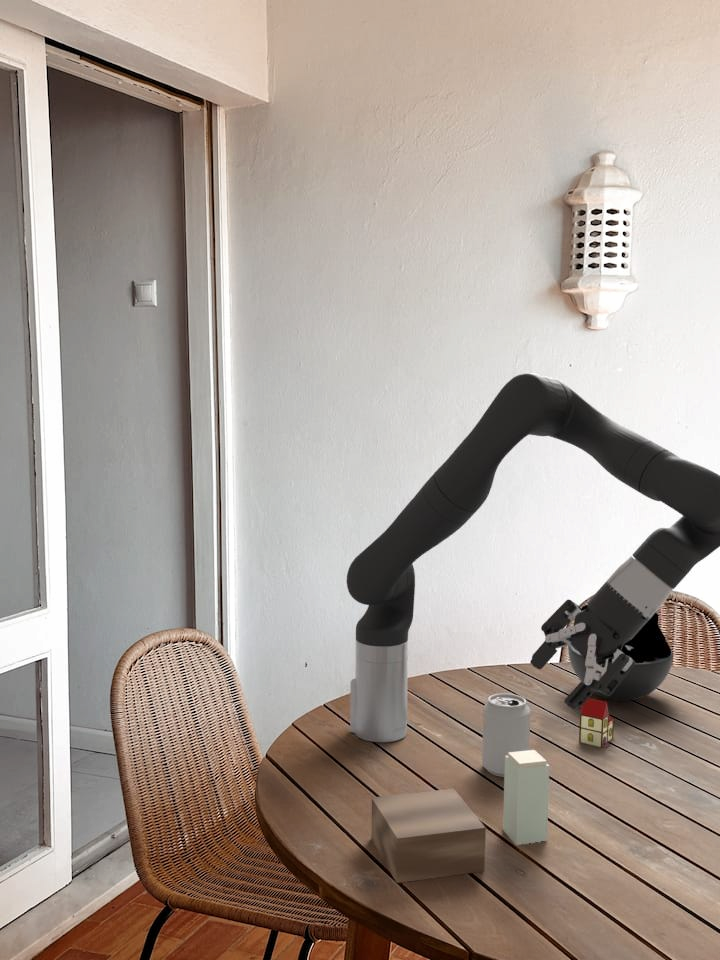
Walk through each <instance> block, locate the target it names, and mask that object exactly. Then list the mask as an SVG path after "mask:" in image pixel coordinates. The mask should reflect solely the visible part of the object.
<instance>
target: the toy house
mask: <svg viewBox="0 0 720 960" xmlns="http://www.w3.org/2000/svg"><path fill="white" fill-rule="evenodd" d="M609 712H610V711H609V708H608V702H607V701H605V700H604V701H603V700H599V699H596V698H592V697H590V698H589V699H588V700H587V701H586V702H585V703H584V704H583V705H582V706H581V710H580V713H579V731H578V732H579V733H578V735H579V736H578V742H579V743H583V744H588V745H591V746H596V747H599V748H605V749H607V748H609V747H610V746H611V744H610V742H609V741H611V740H612V739H614V733H615V732H614V729H615V728H614V727H615V720H614V719H613V718H612V717H611V715H610V713H609Z"/></svg>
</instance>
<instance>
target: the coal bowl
mask: <svg viewBox="0 0 720 960" xmlns="http://www.w3.org/2000/svg"><path fill="white" fill-rule="evenodd" d="M586 608H587V604H585V605H583V606H582V607H581V611H583V610H585V609H586ZM567 650H568V651H567V652H568V658H569V662H570V665H571V667H572V670H573V672H574V673H575V675H576V677H577V678H578V679H579V680H580V682H581V681H582V682H583V683H584V679H585V674H586V667H585V662H586V659H585V658H584V657H583V656H582V655H581V654H580V652H579V650H578V649H576V648H575V647H573V646H567ZM621 651H622V652H623V653H624V654H625V655H627V656H629V657H630V658H632V659H633V660H634V661H635V666H634V667H633V669H632V670H631V671H630V672H629V673H628V675H627V676H626V677H625V678H624V680H623V681H622V682H621V683H620V685H619V686H618V687H617V688H616V690H615V691H614V692H613V693H612V694H611V695H610V696H606V695H605V694H602V693H600V692H594V693H595V695H598V696H600V697H602V698H605V699H607V700H612V701H618V702H620V701H621V702H627V701H634V700H639V699H642V698H643V697H645V696H648V695H650V694H651V693H652V692H654V691H655V690H656V689H657V688H659V687H660V686H661V684H663V682H664V681H665V680H666V678H667V676H668V675H669V673H670V671H671V668H672V665H673V660H674V652H673V650H672V648H671V647H670V645H669V643H668V641H667V639H666V635H664V633H663V631H662V630H661V628H660V626H659V614H658V612H656V613H655V614H654V615H653V616H652V617H651V618H650V619H649V620H648V621H647V623H646V624H645V625H644V626H643V627H642V628H641V629H640V630H639V631H638V633H637V634H636V635H635V636H634V637H633V638H632V639H631V640H629V641H627V642H626V643H625V644H624V645H623V647H622V649H621ZM613 658H614V657H613ZM613 658H609V659H608V664H607V670H608V668H609V667H610V666H611V665H612V659H613ZM596 663H597V664H598V662H596ZM607 670H606V671H607ZM594 693H593V694H594Z"/></svg>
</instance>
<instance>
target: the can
mask: <svg viewBox="0 0 720 960" xmlns="http://www.w3.org/2000/svg"><path fill="white" fill-rule="evenodd" d="M482 714H483V715H482V716H483V718H482V751H481V752H482V753H481V754H482V755H481V759H482V760H481V763H482V766H483V767H484V768H485V770H487V772H489V774H492V775H493V776H497V777H502V778H504V776H505V756H508V752H517V751H527V750H530V733H531V732H530V730H531V708H530V707H529V706H528V705H527V699H526V698H525V697H523V696H520V695H518V694H513V693H495V694H491V695H490V696H488V698H487V703H485V704H484V705H483V713H482Z"/></svg>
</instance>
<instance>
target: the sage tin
mask: <svg viewBox="0 0 720 960" xmlns="http://www.w3.org/2000/svg"><path fill="white" fill-rule="evenodd" d="M503 779H504V780H503V785H504V786H503V813H502V815H503V818H502V819H503V820H502V821H503V822H502V830H503V832H504V833H505V834H506V836H508V838H509V839H510V840H511V841H512V842H513V844H514V845H515V846H523V845H529V843H531V844H536V843H535V842H538V843H542V842H541V841H546V842H548V824H549V823H548V821H549V820H548V819H549V816H548V815H549V792H550V790H549V788H550V765H549V764H548V763H547V760H546V759H545V758H544V757H543V755H541V754H539V753H538V752H537V751H536V750H535V749H529V750H527V751H517V752H508V756H505V776H504V777H503ZM522 844H523V845H522Z"/></svg>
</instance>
